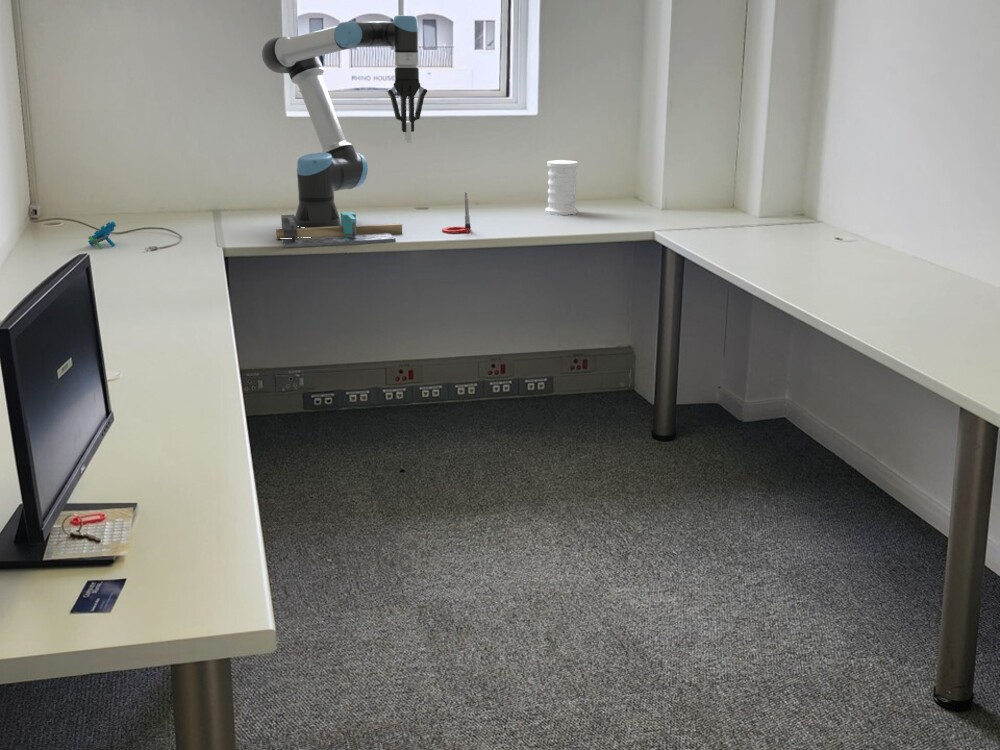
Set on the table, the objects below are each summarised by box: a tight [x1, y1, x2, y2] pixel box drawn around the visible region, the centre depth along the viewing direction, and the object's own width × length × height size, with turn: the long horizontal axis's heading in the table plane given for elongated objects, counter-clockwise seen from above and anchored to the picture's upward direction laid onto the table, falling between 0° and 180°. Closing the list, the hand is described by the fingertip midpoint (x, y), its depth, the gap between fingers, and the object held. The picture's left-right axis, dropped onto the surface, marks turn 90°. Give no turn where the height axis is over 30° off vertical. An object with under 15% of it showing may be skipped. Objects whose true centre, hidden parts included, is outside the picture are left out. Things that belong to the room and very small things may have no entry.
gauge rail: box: [275, 214, 403, 240], centre depth 356 cm, size 12×40×7 cm, turn 107°
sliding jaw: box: [340, 211, 357, 237], centre depth 357 cm, size 12×4×6 cm, turn 17°
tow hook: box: [441, 191, 472, 234], centre depth 368 cm, size 8×13×9 cm
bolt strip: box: [281, 233, 397, 249], centre depth 351 cm, size 9×34×1 cm, turn 107°
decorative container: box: [544, 159, 579, 216], centre depth 403 cm, size 12×12×18 cm
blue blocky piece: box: [87, 220, 117, 250], centre depth 343 cm, size 11×6×10 cm
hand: (408, 142), depth 363 cm, fingers closed
